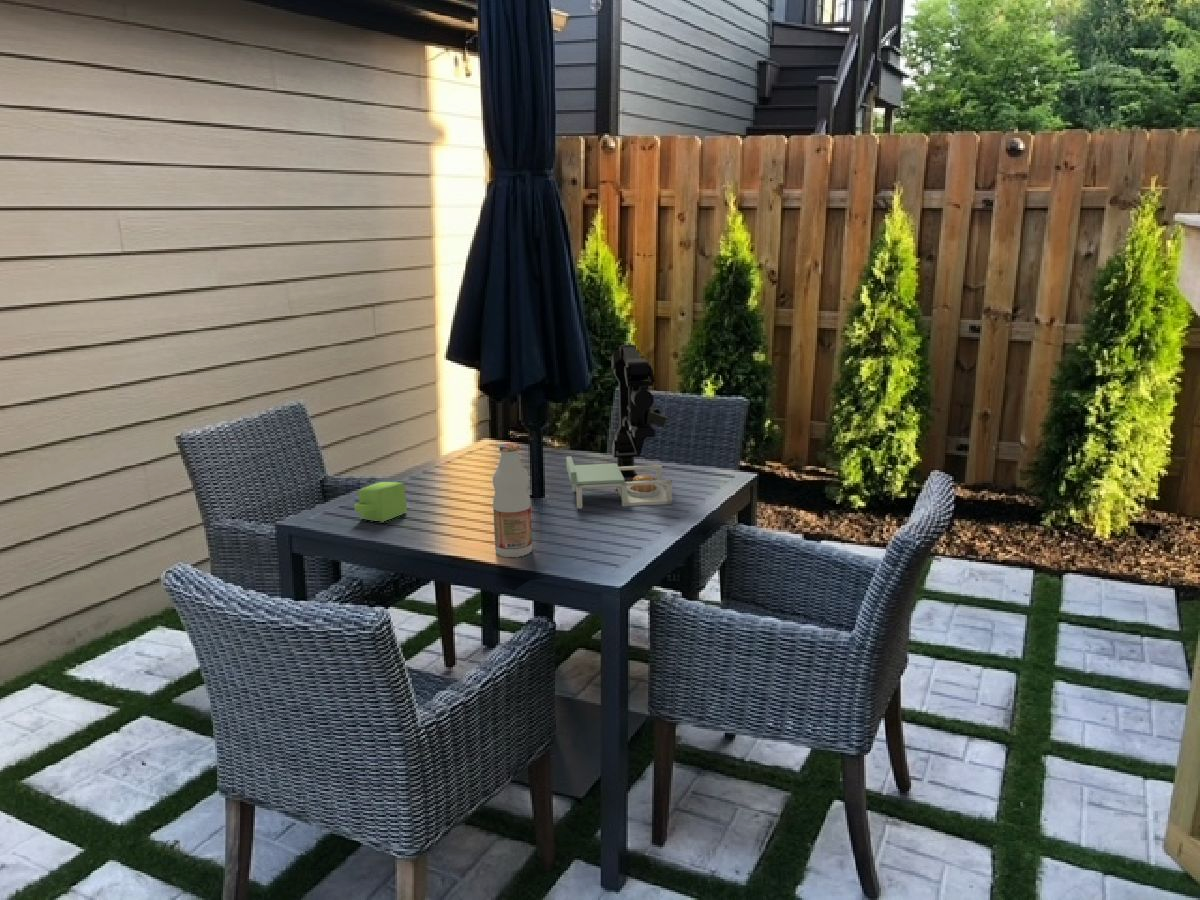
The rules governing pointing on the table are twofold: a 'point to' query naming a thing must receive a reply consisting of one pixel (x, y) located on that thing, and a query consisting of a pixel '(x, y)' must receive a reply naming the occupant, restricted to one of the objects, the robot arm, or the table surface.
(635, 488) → the gear hub
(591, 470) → the sliding lid
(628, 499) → the housing
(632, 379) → the robot arm
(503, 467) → the fruit juice
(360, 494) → the gearbox
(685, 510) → the table surface
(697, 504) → the table surface
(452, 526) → the table surface
